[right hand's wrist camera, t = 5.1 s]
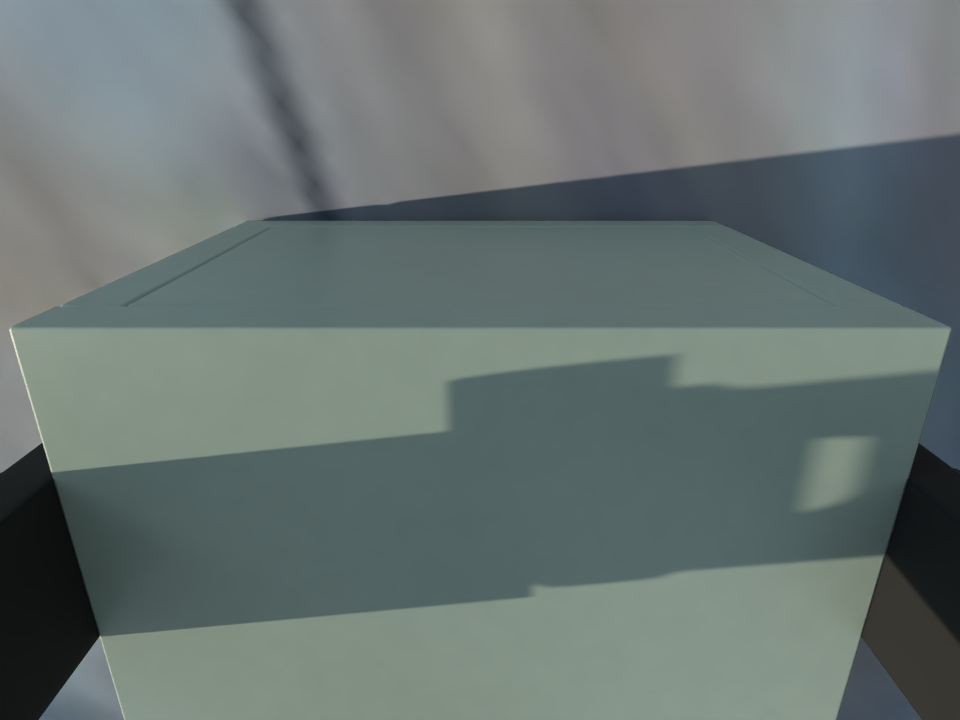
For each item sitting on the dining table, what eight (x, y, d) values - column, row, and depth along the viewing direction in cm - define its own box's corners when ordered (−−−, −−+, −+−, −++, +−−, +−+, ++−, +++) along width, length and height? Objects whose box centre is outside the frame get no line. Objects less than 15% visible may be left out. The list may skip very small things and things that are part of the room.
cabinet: (645, 725, 21) (736, 1062, 14) (315, 725, 21) (224, 1060, 14) (715, 220, 15) (956, 327, 7) (245, 220, 15) (6, 326, 7)
